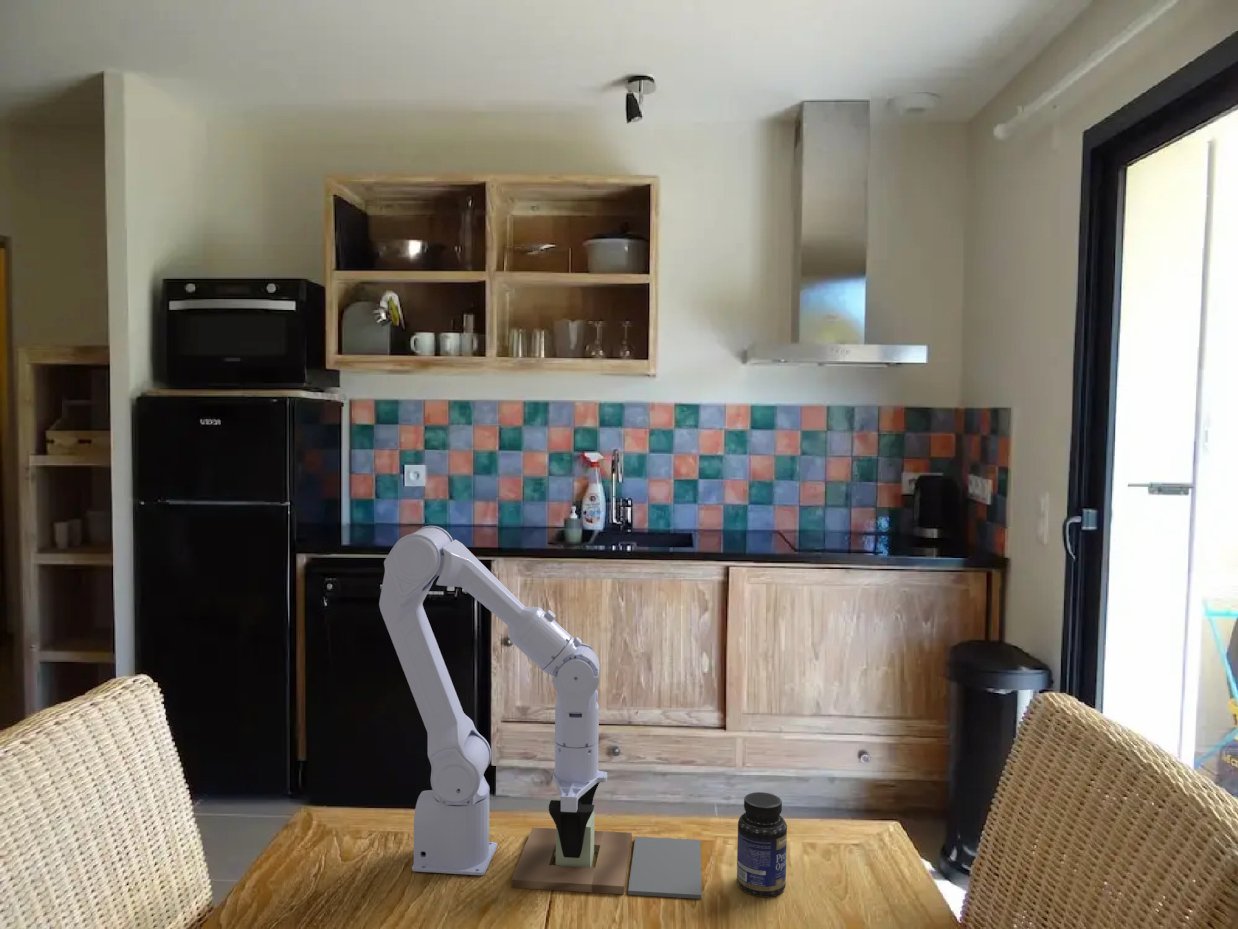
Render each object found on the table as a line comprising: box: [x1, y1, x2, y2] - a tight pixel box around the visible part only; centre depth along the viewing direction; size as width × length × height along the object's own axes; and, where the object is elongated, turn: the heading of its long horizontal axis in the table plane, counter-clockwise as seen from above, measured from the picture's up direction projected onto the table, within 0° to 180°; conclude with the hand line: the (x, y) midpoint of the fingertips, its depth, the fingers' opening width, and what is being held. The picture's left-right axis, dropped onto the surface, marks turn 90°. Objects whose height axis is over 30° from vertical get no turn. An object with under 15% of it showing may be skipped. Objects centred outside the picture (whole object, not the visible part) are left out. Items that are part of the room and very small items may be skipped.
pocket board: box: [511, 827, 633, 895], centre depth 114 cm, size 14×14×1 cm
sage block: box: [555, 811, 596, 868], centre depth 114 cm, size 4×4×6 cm
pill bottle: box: [736, 791, 788, 898], centre depth 109 cm, size 6×6×11 cm
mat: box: [627, 836, 703, 900], centre depth 113 cm, size 9×14×1 cm, turn 175°
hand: (576, 842), depth 114 cm, fingers open, 7 cm apart
